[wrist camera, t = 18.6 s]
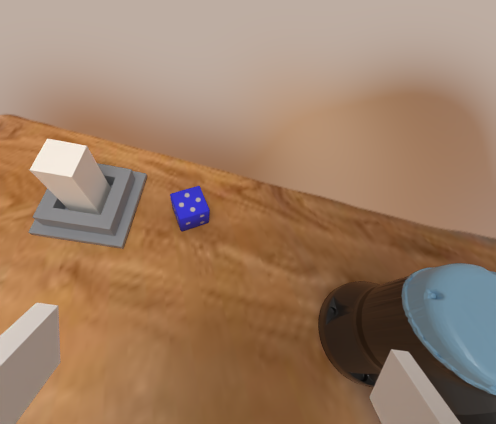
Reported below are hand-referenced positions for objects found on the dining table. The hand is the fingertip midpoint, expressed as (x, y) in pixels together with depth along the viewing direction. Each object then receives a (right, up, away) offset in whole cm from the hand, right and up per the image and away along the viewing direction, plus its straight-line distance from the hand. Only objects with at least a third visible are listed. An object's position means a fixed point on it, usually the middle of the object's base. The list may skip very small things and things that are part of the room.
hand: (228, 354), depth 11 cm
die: (-9, +5, +38) cm, 39 cm away
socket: (-25, +7, +36) cm, 44 cm away
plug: (-25, +8, +35) cm, 44 cm away
